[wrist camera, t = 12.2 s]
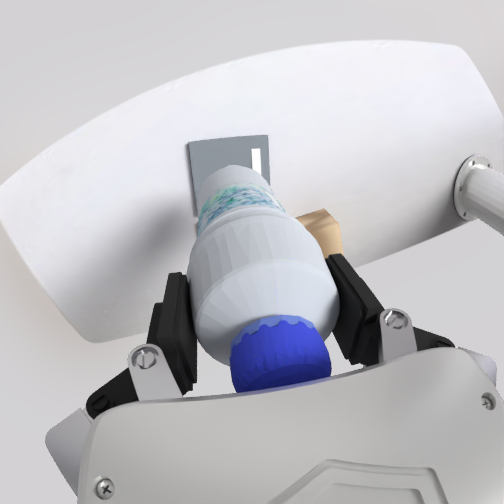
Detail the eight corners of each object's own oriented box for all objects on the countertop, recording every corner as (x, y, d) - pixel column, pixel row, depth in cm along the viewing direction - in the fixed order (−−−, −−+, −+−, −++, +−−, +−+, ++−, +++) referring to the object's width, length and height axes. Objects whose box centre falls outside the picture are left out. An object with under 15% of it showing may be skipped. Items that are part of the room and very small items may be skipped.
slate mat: (267, 134, 30) (268, 135, 30) (269, 206, 35) (271, 207, 34) (189, 141, 29) (188, 142, 29) (198, 213, 34) (197, 215, 33)
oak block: (323, 208, 36) (338, 223, 31) (329, 239, 38) (343, 257, 34) (288, 219, 36) (299, 236, 32) (297, 251, 38) (307, 270, 34)
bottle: (236, 241, 27) (284, 446, 10) (181, 200, 24) (141, 411, 7) (284, 190, 25) (415, 362, 8) (229, 143, 23) (304, 272, 5)
